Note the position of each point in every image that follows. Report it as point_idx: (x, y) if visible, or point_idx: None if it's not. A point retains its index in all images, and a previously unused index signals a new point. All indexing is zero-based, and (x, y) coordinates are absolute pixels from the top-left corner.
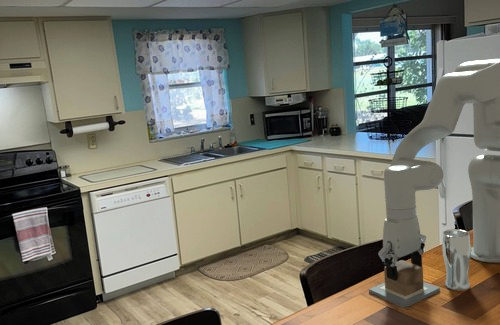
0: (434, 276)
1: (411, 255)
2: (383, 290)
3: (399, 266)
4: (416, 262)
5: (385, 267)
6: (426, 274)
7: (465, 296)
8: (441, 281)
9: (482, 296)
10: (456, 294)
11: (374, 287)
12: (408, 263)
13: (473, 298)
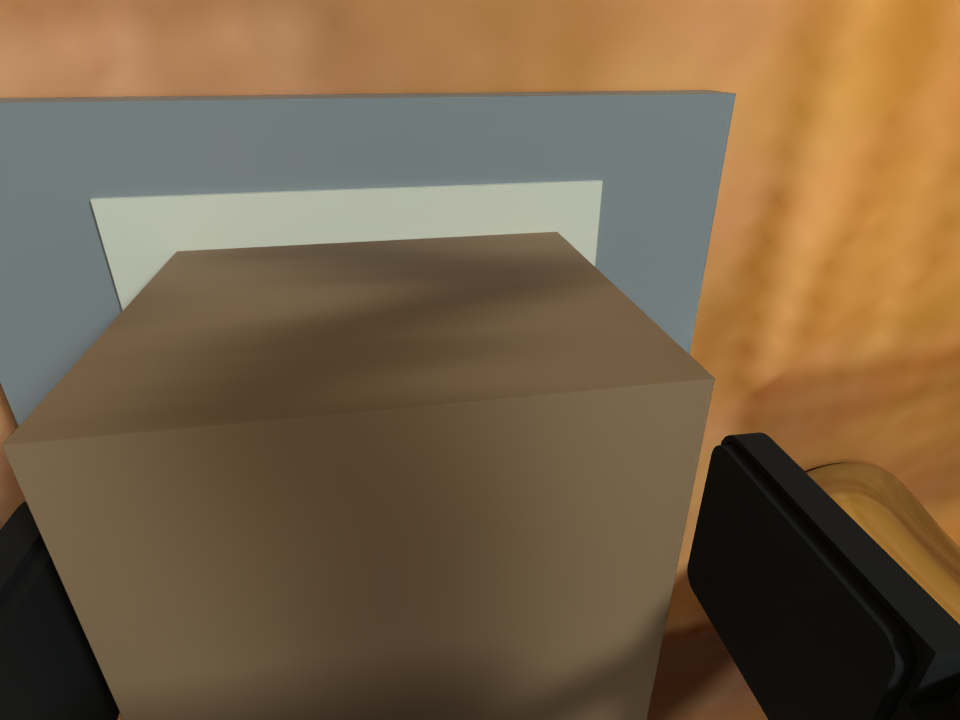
0: (915, 305)
1: (862, 632)
2: (100, 296)
3: (366, 602)
4: (753, 609)
5: (21, 486)
6: (932, 214)
7: (677, 661)
8: (833, 419)
9: (741, 697)
10: (668, 620)
11: (22, 124)
12: (624, 580)
13: (680, 694)
